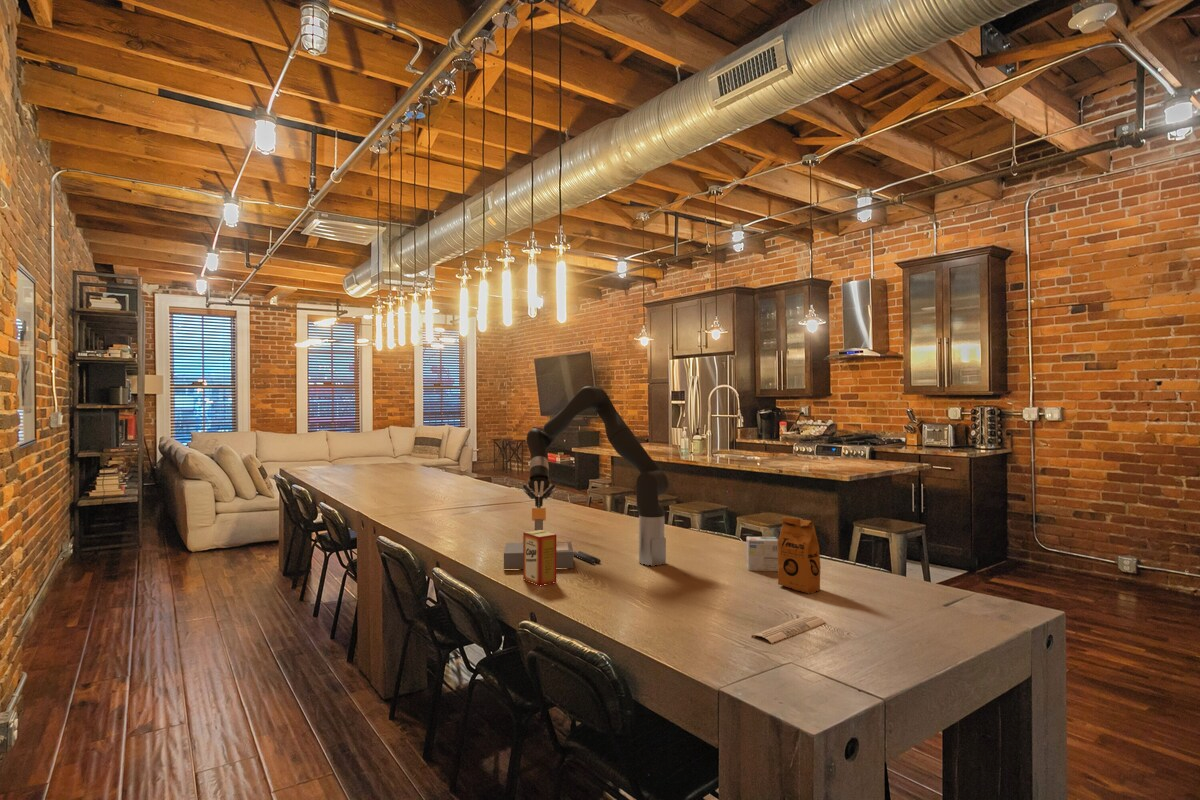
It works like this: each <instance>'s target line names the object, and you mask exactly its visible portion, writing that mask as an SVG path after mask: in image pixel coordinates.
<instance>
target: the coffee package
mask: <svg viewBox="0 0 1200 800" xmlns="http://www.w3.org/2000/svg"><path fill="white" fill-rule="evenodd" d="M781 521H782V525H781V529H780V533H779V536H778V538H777V539H778V569H779V571H777V577H778V578H777V579H778V580H777V584H778V585H779V586H783V587H785V588H789V589H791V588H792V590H794V591H797V592H800V591H801V592H802V593H805V594H807V593H808V595H810V594H812V593H811V592H813V593H816V591H817V592H820V591H821V556H820V546H819V541H818V536H817V532H816V527H815V525H814V522H813V521H814V520H807V519H802V518H801V519H800V518H797V517H792V516H791V517H790V516H783V517H782V520H781ZM801 592H800V593H801ZM809 593H810V594H809Z"/></svg>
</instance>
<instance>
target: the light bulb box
mask: <svg viewBox="0 0 1200 800" xmlns="http://www.w3.org/2000/svg"><path fill="white" fill-rule="evenodd" d="M745 539H746V567H747V570H748V571H752V572H753V571H754V572H778V571H779V569H778V539H779V538H777V536H746V537H745Z"/></svg>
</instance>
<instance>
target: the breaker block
mask: <svg viewBox="0 0 1200 800" xmlns="http://www.w3.org/2000/svg"><path fill="white" fill-rule="evenodd" d="M504 546H505V547H504V552H503V570H504V569H523V542H505V545H504ZM573 552H574V549H573V543H572V541H556V568H573V569H574V556H573Z"/></svg>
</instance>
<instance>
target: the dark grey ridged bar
mask: <svg viewBox="0 0 1200 800" xmlns="http://www.w3.org/2000/svg"><path fill="white" fill-rule="evenodd" d="M573 555H575V556H574V557H576V556H578V557H580V558H582V559H584V560H586V561H585V562H587V561H588V562H587V563H589V562H590V563H589V564H591V563H593V564H592V565H595V564H601V562H602V561H601V559H600V558H599V557H596V556H594V555H591V554H589V553H586V552H584V551H581V550H579V551H578V552H577V551H573ZM578 557H577V558H578ZM580 558H579V559H580ZM582 559H581V560H582ZM584 560H583V561H584ZM596 562H597V563H596ZM594 563H595V564H594Z"/></svg>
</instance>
